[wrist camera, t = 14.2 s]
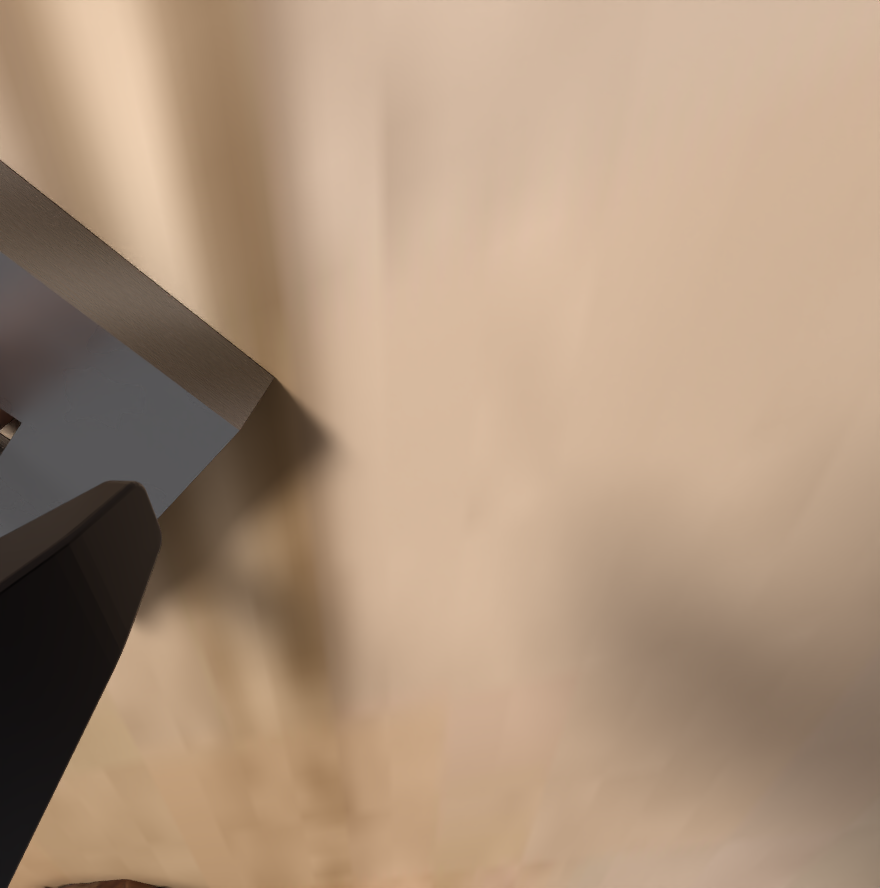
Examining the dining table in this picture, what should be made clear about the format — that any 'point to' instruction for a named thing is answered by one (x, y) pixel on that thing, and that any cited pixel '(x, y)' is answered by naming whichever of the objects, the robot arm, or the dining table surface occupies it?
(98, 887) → the chocolate cake
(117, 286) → the dark grey square base
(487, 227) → the dining table surface
